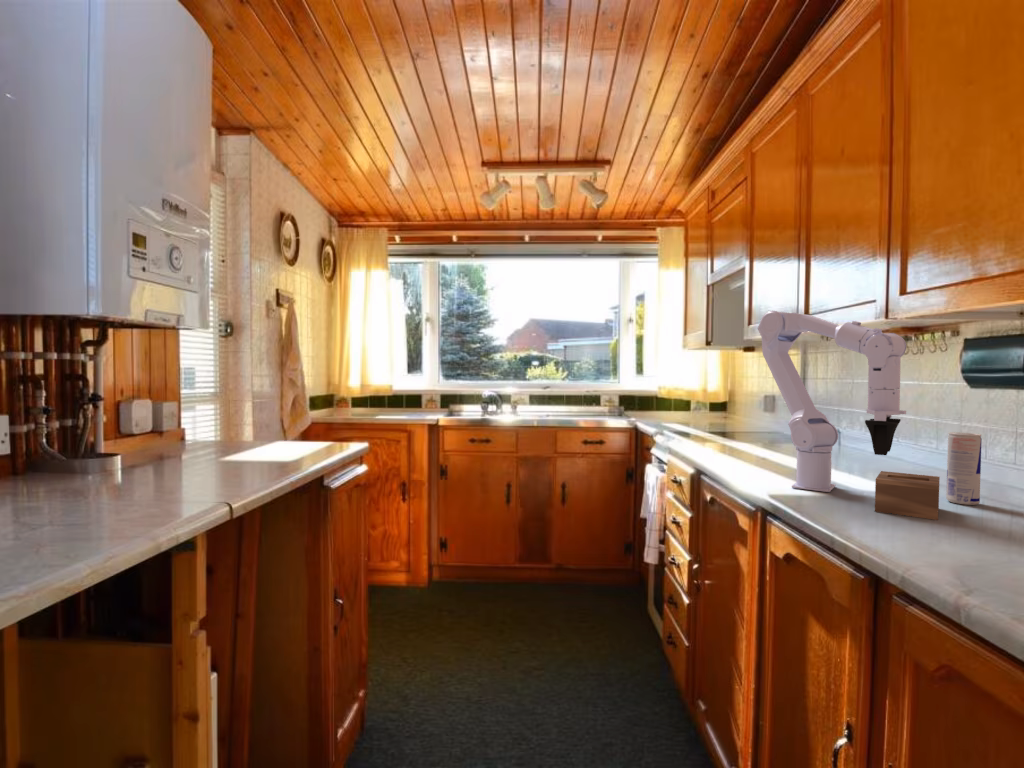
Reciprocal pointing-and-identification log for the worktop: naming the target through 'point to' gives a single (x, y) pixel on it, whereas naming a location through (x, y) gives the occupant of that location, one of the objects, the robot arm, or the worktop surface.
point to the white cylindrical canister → (963, 468)
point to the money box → (907, 494)
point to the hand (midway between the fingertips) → (882, 452)
